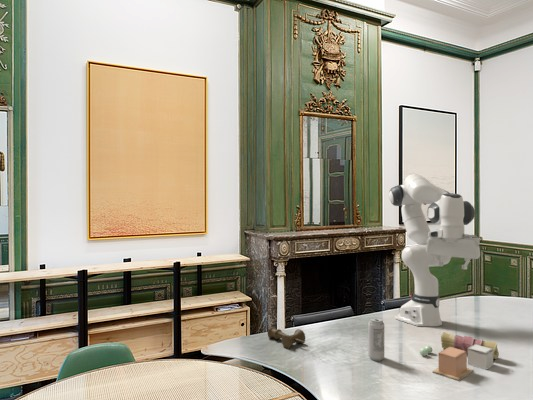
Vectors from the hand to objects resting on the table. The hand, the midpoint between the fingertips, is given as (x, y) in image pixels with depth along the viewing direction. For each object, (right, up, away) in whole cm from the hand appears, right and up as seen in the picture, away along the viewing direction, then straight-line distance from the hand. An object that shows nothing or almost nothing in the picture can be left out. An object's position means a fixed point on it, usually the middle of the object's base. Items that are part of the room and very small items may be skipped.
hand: (452, 267), depth 159 cm
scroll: (+6, -35, -1) cm, 35 cm away
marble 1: (-13, -34, -3) cm, 37 cm away
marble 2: (-10, -34, -1) cm, 36 cm away
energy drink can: (-32, -34, -6) cm, 47 cm away
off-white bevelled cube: (+5, -34, -12) cm, 36 cm away
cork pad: (-8, -34, -18) cm, 39 cm away
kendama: (-66, -35, +11) cm, 75 cm away
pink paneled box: (-8, -34, -18) cm, 39 cm away
